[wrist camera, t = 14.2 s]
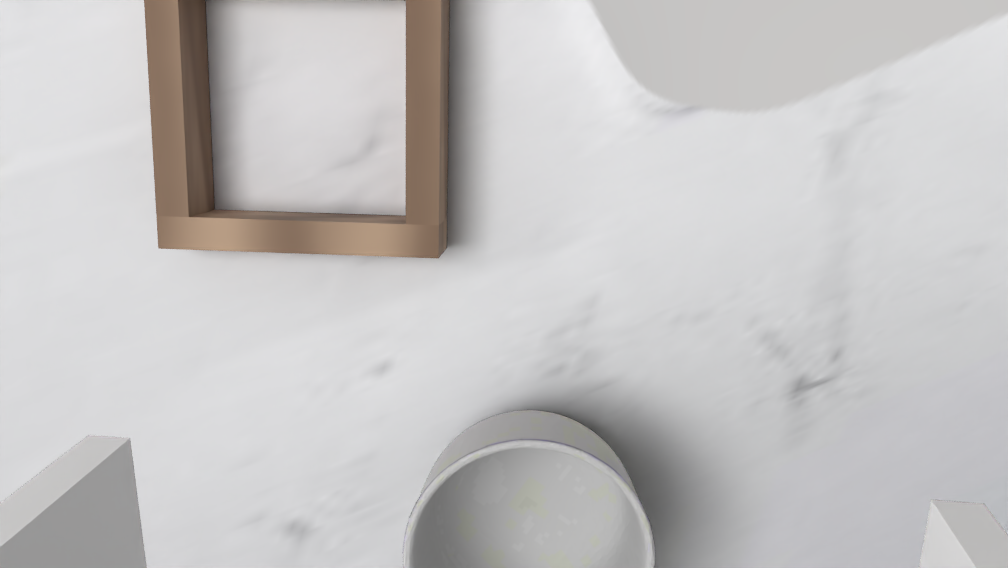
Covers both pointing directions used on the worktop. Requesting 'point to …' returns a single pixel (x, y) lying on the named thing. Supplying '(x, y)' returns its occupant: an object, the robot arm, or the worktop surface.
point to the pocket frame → (198, 226)
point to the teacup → (528, 500)
